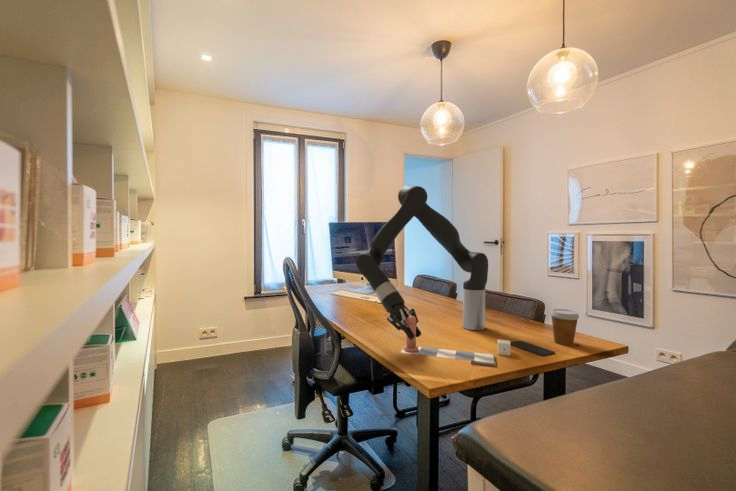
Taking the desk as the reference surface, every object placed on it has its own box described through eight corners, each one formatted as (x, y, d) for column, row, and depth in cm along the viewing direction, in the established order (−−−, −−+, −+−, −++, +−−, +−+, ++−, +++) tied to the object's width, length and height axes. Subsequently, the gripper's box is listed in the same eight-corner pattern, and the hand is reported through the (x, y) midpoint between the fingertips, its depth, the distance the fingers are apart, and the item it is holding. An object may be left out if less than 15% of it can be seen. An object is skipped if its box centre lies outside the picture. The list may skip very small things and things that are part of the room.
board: (403, 347, 126) (403, 344, 126) (494, 357, 116) (494, 354, 116) (398, 355, 117) (398, 353, 117) (496, 366, 108) (496, 363, 108)
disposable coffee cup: (580, 342, 132) (581, 311, 132) (574, 348, 125) (575, 315, 125) (553, 337, 139) (554, 307, 138) (546, 342, 132) (547, 311, 131)
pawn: (405, 346, 123) (405, 313, 123) (419, 348, 122) (419, 314, 121) (403, 351, 119) (403, 316, 118) (416, 352, 117) (417, 318, 117)
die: (497, 350, 123) (497, 339, 123) (509, 351, 122) (509, 340, 122) (497, 354, 119) (498, 342, 119) (510, 355, 118) (510, 343, 118)
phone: (520, 340, 134) (556, 352, 120) (520, 342, 134) (556, 354, 120) (506, 342, 130) (542, 355, 117) (506, 344, 130) (542, 357, 117)
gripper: (382, 293, 120) (409, 335, 112) (407, 288, 130) (434, 326, 122) (370, 305, 124) (397, 347, 115) (396, 300, 134) (421, 338, 126)
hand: (416, 336), depth 119 cm, fingers closed on pawn, 3 cm apart
